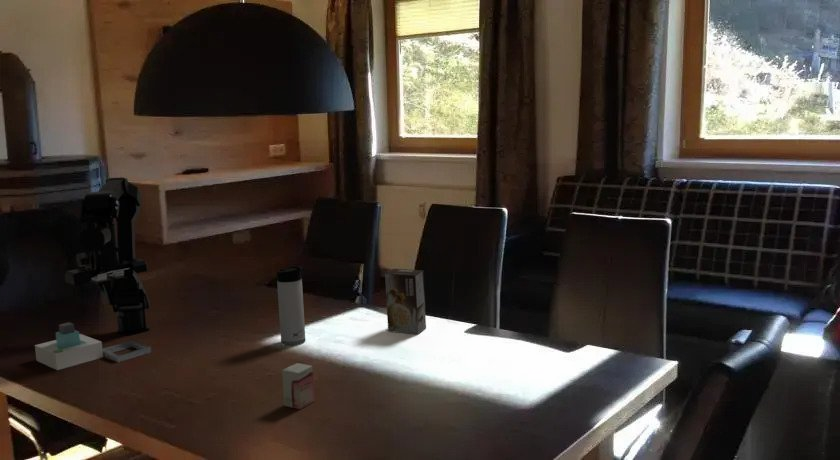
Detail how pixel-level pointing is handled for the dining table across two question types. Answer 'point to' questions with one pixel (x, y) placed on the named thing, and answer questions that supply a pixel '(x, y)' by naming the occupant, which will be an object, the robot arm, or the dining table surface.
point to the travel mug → (291, 306)
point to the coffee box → (405, 301)
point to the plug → (67, 336)
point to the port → (68, 353)
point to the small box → (298, 385)
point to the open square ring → (118, 358)
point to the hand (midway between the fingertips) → (110, 304)
